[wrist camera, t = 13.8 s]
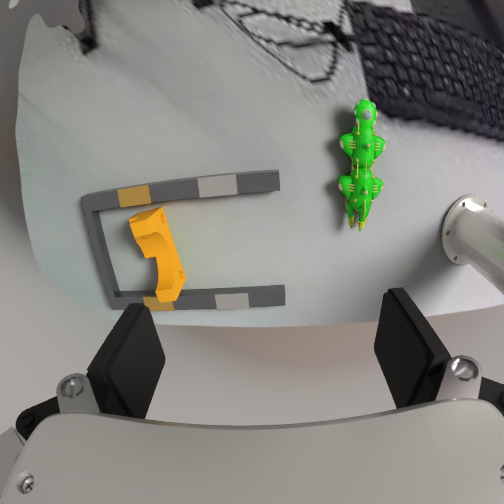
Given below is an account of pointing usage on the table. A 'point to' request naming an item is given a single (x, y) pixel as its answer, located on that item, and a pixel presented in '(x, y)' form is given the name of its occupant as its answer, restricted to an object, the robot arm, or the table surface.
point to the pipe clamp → (159, 251)
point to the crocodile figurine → (361, 162)
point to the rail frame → (175, 191)
